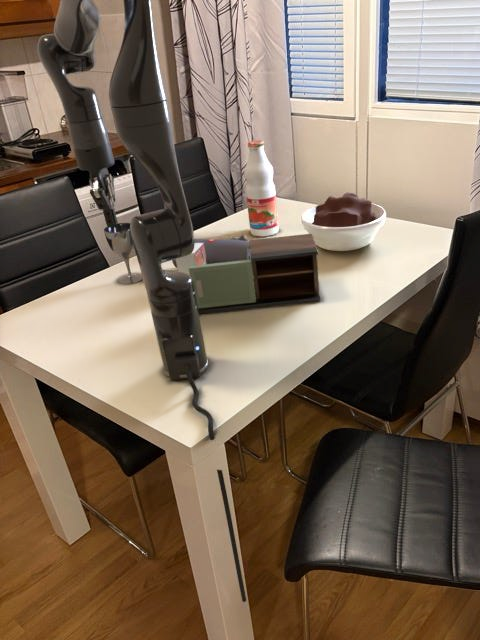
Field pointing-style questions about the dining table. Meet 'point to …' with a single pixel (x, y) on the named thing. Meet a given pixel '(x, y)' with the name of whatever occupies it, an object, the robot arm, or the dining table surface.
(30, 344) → the dining table surface
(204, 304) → the door
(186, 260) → the small box
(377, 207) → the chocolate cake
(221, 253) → the bluetooth speaker
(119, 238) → the wine glass
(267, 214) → the fruit juice
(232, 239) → the animal figurine
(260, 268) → the box
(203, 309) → the track
